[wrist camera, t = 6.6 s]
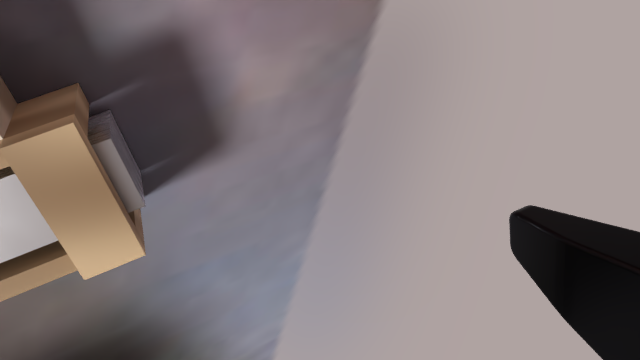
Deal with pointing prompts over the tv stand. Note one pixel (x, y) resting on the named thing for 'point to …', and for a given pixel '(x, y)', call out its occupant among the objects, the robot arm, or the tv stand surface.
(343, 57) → the tv stand surface
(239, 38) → the tv stand surface
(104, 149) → the grey rectangular block
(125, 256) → the socket block
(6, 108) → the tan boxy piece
